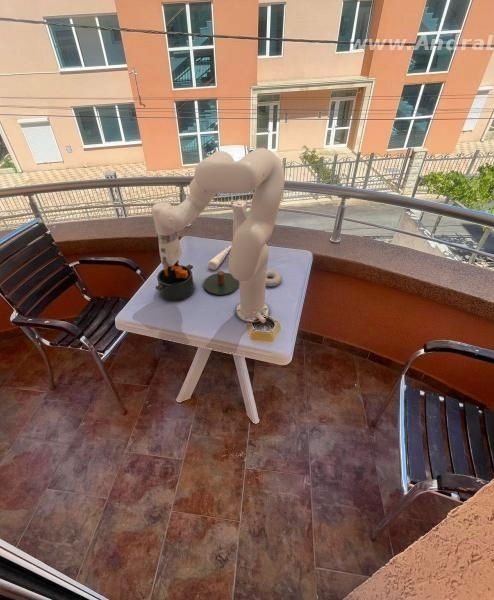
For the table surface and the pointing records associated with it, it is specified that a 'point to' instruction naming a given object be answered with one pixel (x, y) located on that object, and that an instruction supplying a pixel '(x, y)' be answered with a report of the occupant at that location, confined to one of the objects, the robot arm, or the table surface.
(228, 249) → the unicorn horn
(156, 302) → the table surface
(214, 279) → the pot lid
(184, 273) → the orange bottle
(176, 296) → the pot
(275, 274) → the donut
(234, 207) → the grater
